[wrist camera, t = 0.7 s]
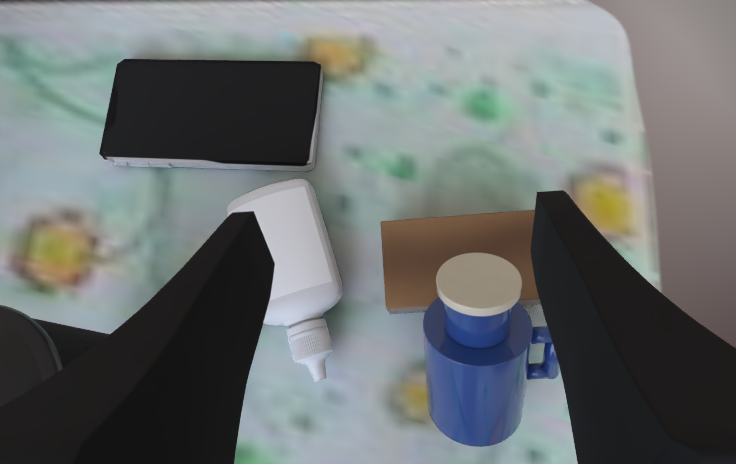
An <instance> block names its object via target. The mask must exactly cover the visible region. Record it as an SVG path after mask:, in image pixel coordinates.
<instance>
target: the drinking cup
mask: <svg viewBox="0 0 736 464" xmlns="http://www.w3.org/2000/svg"><path fill="white" fill-rule="evenodd" d="M109 335H110V334H105V333H100V332H95V331H90V330H86V329H81V328H76V327H71V326H66V325H62V324H57V323H52V322H47V321H42V320H37V319H33V318H30V317H29V316H27V315H26V314H24V313H22V312H20V311H18V310H16V309H13V308H10V307H7V306H3V305H0V407H1V406H2V405H4V404H6V403H8V402H9V401H11V400H13V399H15V398H16V397H18V396H20V395H21V394H23V393H25V392H27V391H28V390H30V389H32V388H33V387H35V386H37V385H38V384H40V383H41V382H43V381H45V380H46V379H48V378H49V377H51V376H52V375H54V374H55V373H57V372H59V371H60V370H62V369H63V368H65V367H66V366H67V365H69V364H70V363H72V362H73V361H75V360H76V359H78V358H79V357H81V356H82V355H83V354H85V353H86V352H87V351H89V350H90V349H91V348H93V347H94V346H95V345H97V344H98V343H99V342H101V341H102V340H103V339H105V338H106V337H107V336H109Z"/></svg>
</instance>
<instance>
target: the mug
mask: <svg viewBox="0 0 736 464" xmlns="http://www.w3.org/2000/svg"><path fill="white" fill-rule="evenodd" d="M436 290H437V293H438V295H439V297H438V298H437V299H436V300H435V301H434V302H432V304H431V305H430V306H429V307H428V309H427V311H426V313H425V316H424V320H423V333H424V350H425V367H426V384H427V401H428V410H429V413H430V416H431V418H432V420H433V422H434V423H435V425H436V426H437V427H438V428H439V430H440V431H441V432H443V433H444V434H445V435H446V436H448V437H449V438H451V439H452V440H454V441H456V442H459V443H461V444H465V445H469V446H480V447H482V446H490V445H494V444H497V443H500V442H502V441H504V440H505V439H507V438H508V437H509V436H511V435H512V434H513V433H514V432H515V430H516V429H517V427H518V426H519V424H520V421H521V418H522V412H523V404H524V396H525V389H526V381H527V379H555V378H556V377H557V376H558V375H559V371H560V366H559V363H558V360H557V356H556V353H555V349H554V346H553V343H552V339H551V336H550V333H549V329H548V326H543V327H533V326H532V322H531V319H530V317H529V315H528V313H527V311H526V310H525V309H524V308H523V306H522V305H521V304H520V303H518V302H517V301H518V299H519V298H520V295H521V290H522V278H521V275H520V273H519V271H518V270H517V269H516V268H515V266H514V265H512V264H511V263H510V262H508V261H507V260H505V259H503V258H501V257H499V256H496V255H492V254H487V253H466V254H461V255H458V256H455V257H453V258H451V259H449V260H448V261H446V262H445V263H444V264H443V265H442V266H441V267H440V268H439V270H438V272H437V275H436ZM536 343H545V347H544V353H543V360H542V363H531V364H529V358H530V350H531V344H536Z"/></svg>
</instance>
